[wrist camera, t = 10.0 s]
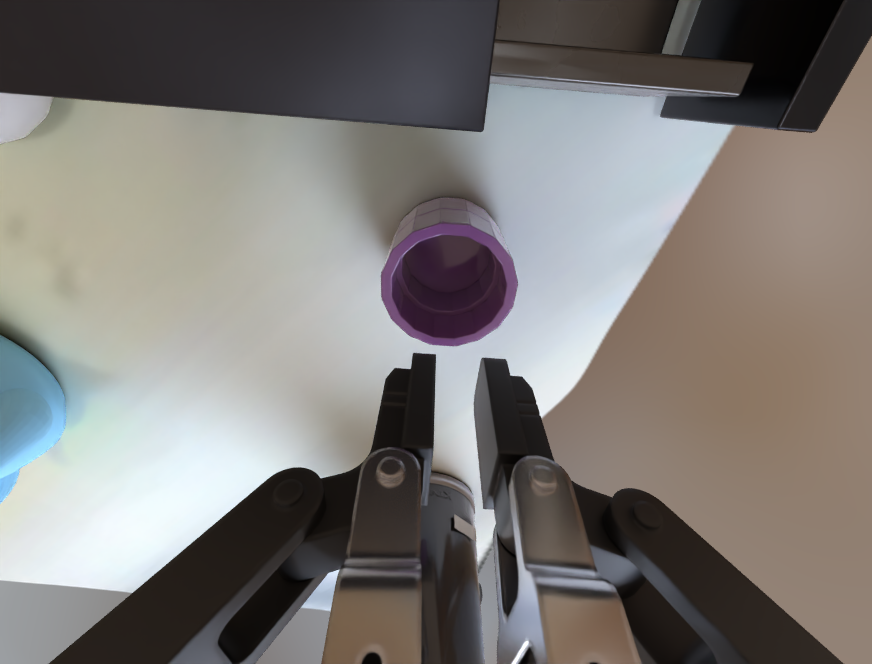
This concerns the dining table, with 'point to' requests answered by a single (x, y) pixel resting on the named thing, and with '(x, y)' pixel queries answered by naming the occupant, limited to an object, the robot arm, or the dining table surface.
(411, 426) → the robot arm
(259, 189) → the dining table surface
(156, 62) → the cabinet
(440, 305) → the cup
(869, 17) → the drawer
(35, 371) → the teapot
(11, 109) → the donut
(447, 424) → the dining table surface
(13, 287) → the dining table surface
